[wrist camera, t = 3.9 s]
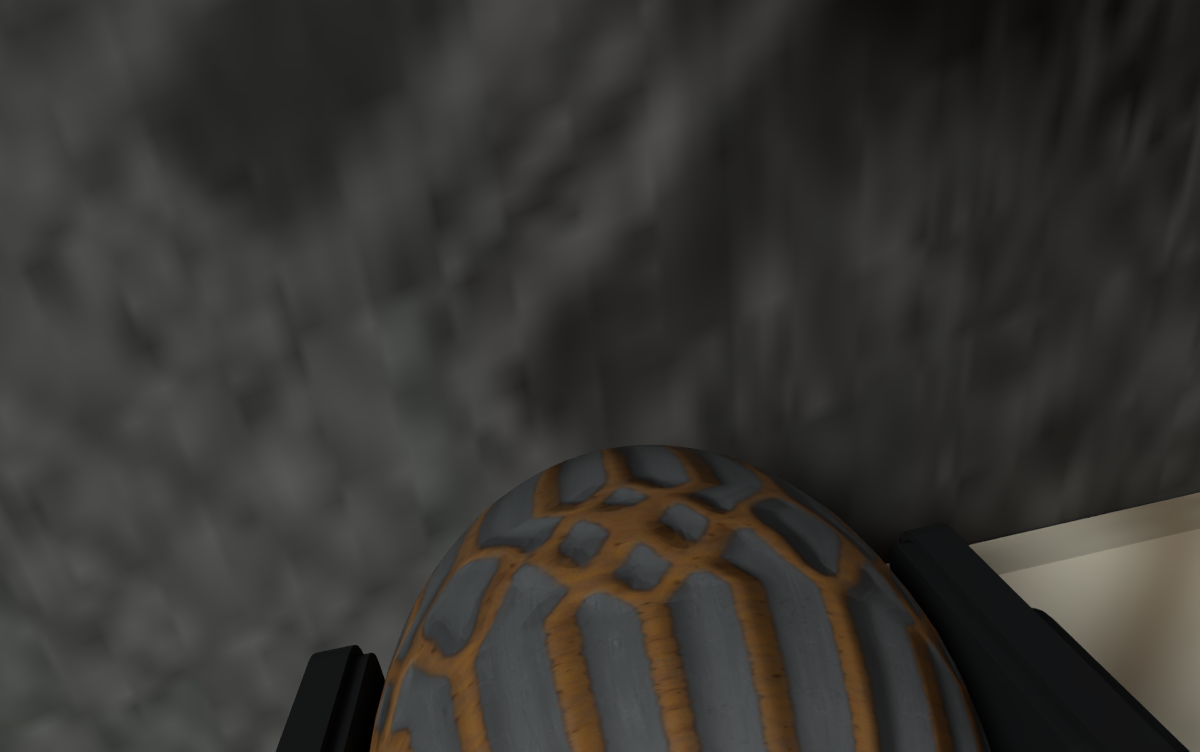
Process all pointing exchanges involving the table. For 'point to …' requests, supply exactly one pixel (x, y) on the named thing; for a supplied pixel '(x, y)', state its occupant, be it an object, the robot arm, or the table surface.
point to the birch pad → (1122, 598)
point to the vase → (668, 624)
